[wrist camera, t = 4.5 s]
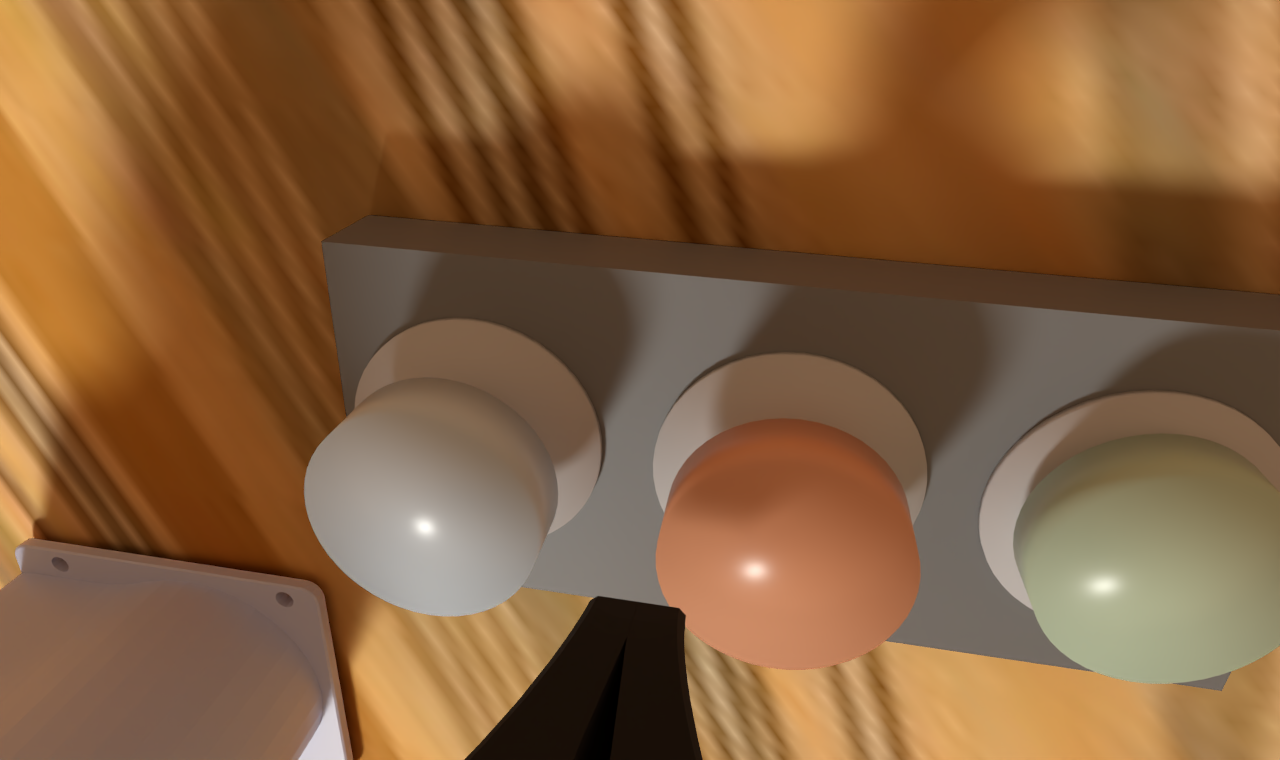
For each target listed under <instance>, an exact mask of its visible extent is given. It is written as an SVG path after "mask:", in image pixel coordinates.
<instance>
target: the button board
mask: <svg viewBox="0 0 1280 760" xmlns="http://www.w3.org/2000/svg"><path fill="white" fill-rule="evenodd" d="M321 242H322V249H323V256H324V263H325V270H326V277H327V284H328V291H329V298H330V305H331V312H332V319H333V326H334V333H335V340H336V347H337V354H338V361H339V368H340V375H341V382H342V390H343V397H344V404H345V411H346V417H347V416H348V415H349V414H350V413H351V412H352V411H353V410H354V409H355V408H356V407H357V406H358V405H359V404H360V403H361V402H362V401H363V400H364V399H366V398H367V397H368V396H370V395H371V394H372V393H373V392H375V391H377V390H378V389H380V388H382V387H384V386H386V385H389V384H391V383H394V382H397V381H401V380H405V379H410V378H422V377H431V378H443V379H449V380H455V381H458V382H462V383H465V384H468V385H471V386H474V387H476V388H478V389H481V390H483V391H485V392H487V393H489V394H491V395H493V396H494V397H496V398H498V399H500V400H501V401H502V402H504V403H505V404H507V405H508V406H509V407H511V408H512V409H513V410H514V411H516V412H517V413H518V414H519V415H520V416H521V417H522V418H523V419H524V420H525V421H526V422H527V423H528V424H529V425H530V426H531V427H532V429H533V430H534V431H535V432H536V434H537V435H538V437H539V438H540V439H541V441H542V442H543V444H544V446H545V448H546V450H547V452H548V453H549V456H550V458H551V461H552V463H553V466H554V469H555V473H556V478H557V484H558V504H557V510H556V514H555V518H554V520H553V522H552V525H551V527H550V530H549V532H548V534H547V536H546V539H545V541H544V543H543V545H542V548H541V550H540V552H539V554H538V557H537V559H536V561H535V563H534V566H533V568H532V570H531V572H530V575H529V576H528V578H527V579H526V581H525V582H524V584H523V585H522V586H521V587H526V588H532V589H539V590H546V591H553V592H559V593H566V594H573V595H580V596H586V597H593V598H595V597H597V596H603V597H610V598H616V599H623V600H630V601H636V602H643V603H649V604H656V605H663V606H669V605H668V603H667V601H666V599H665V597H664V595H663V593H662V590H661V587H660V584H659V581H658V576H657V571H656V548H657V541H658V537H659V533H660V529H661V525H662V521H663V517H664V513H665V508H666V504H667V500H668V496H669V493H670V489H671V486H672V483H673V481H674V479H675V477H676V475H677V473H678V471H679V469H680V468H681V467H682V465H683V464H684V462H685V461H686V460H687V459H688V457H689V456H690V455H691V454H692V453H693V452H694V451H695V450H696V449H697V448H699V447H700V446H701V445H702V444H704V443H705V442H706V441H708V440H709V439H711V438H713V437H714V436H716V435H718V434H719V433H721V432H723V431H726V430H728V429H730V428H733V427H735V426H738V425H742V424H745V423H749V422H753V421H759V420H765V419H779V418H787V419H802V420H808V421H813V422H818V423H822V424H825V425H829V426H832V427H835V428H837V429H839V430H842V431H844V432H846V433H849V434H851V435H852V436H854V437H856V438H857V439H859V440H861V441H863V442H864V443H865V444H867V445H868V446H869V447H871V448H872V449H873V450H875V451H876V452H877V453H878V454H879V455H880V456H881V457H882V458H883V459H884V460H885V461H886V462H887V463H888V465H889V466H890V467H891V469H892V470H893V471H894V473H895V474H896V476H897V478H898V479H899V481H900V483H901V485H902V487H903V490H904V492H905V495H906V498H907V501H908V506H909V511H910V515H911V520H912V525H913V530H914V534H915V539H916V544H917V548H918V553H919V559H920V574H921V578H920V584H919V590H918V594H917V597H916V600H915V603H914V605H913V607H912V609H911V611H910V613H909V614H908V616H907V618H906V619H905V620H904V622H903V623H902V624H901V626H900V627H899V628H898V629H897V630H896V631H895V632H894V633H893V634H892V635H891V636H890V637H889V638H888V639H887V640H885V641H889V642H896V643H903V644H910V645H916V646H923V647H930V648H937V649H943V650H950V651H957V652H964V653H970V654H977V655H984V656H991V657H997V658H1004V659H1011V660H1018V661H1024V662H1031V663H1038V664H1044V665H1051V666H1058V667H1065V668H1071V669H1078V670H1085V671H1092V670H1090V669H1087V668H1085V667H1083V666H1081V665H1080V664H1078V663H1076V662H1074V661H1073V660H1071V659H1070V658H1068V657H1067V656H1066V655H1064V654H1063V653H1062V652H1060V651H1059V650H1058V649H1057V648H1056V647H1055V646H1054V645H1053V644H1052V643H1051V642H1050V640H1049V639H1048V637H1047V636H1046V635H1045V633H1044V632H1043V630H1042V629H1041V627H1040V625H1039V623H1038V621H1037V618H1036V616H1035V613H1034V610H1033V608H1032V605H1031V602H1030V600H1029V597H1028V594H1027V592H1026V589H1025V586H1024V584H1023V581H1022V578H1021V576H1020V573H1019V570H1018V567H1017V564H1016V561H1015V558H1014V550H1013V535H1014V529H1015V525H1016V521H1017V518H1018V516H1019V513H1020V510H1021V508H1022V506H1023V505H1024V503H1025V501H1026V500H1027V498H1028V496H1029V495H1030V494H1031V492H1032V491H1033V490H1034V489H1035V487H1036V486H1037V485H1038V484H1039V483H1040V482H1041V481H1042V480H1043V479H1044V478H1045V477H1046V476H1047V475H1048V474H1049V473H1050V472H1052V471H1053V470H1054V469H1055V468H1057V467H1058V466H1059V465H1061V464H1062V463H1064V462H1065V461H1067V460H1069V459H1070V458H1072V457H1073V456H1075V455H1077V454H1079V453H1081V452H1083V451H1085V450H1087V449H1089V448H1092V447H1094V446H1097V445H1100V444H1103V443H1106V442H1108V441H1112V440H1116V439H1120V438H1124V437H1129V436H1136V435H1143V434H1161V433H1165V434H1182V435H1188V436H1194V437H1199V438H1203V439H1206V440H1210V441H1213V442H1216V443H1219V444H1221V445H1223V446H1226V447H1228V448H1230V449H1232V450H1234V451H1235V452H1237V453H1239V454H1240V455H1242V456H1244V457H1245V458H1246V459H1247V460H1249V461H1250V462H1251V463H1252V464H1253V465H1255V466H1256V467H1257V468H1258V469H1259V471H1260V472H1261V473H1262V474H1263V475H1264V476H1265V477H1266V478H1267V479H1268V480H1269V481H1270V482H1271V483H1272V484H1273V485H1274V487H1275V488H1276V489H1277V490H1278V491H1279V492H1280V295H1276V294H1265V293H1254V292H1242V291H1231V290H1219V289H1208V288H1196V287H1185V286H1174V285H1162V284H1151V283H1139V282H1128V281H1116V280H1105V279H1094V278H1082V277H1071V276H1059V275H1048V274H1037V273H1025V272H1014V271H1002V270H991V269H979V268H968V267H957V266H945V265H934V264H922V263H911V262H899V261H888V260H877V259H865V258H854V257H842V256H831V255H819V254H808V253H797V252H785V251H774V250H762V249H751V248H739V247H728V246H717V245H705V244H694V243H682V242H671V241H660V240H648V239H637V238H625V237H614V236H602V235H591V234H580V233H568V232H557V231H545V230H534V229H522V228H511V227H500V226H488V225H477V224H465V223H454V222H442V221H431V220H420V219H408V218H397V217H385V216H374V215H368V216H366V217H364V218H362V219H361V220H359V221H357V222H355V223H354V224H352V225H350V226H348V227H346V228H345V229H343V230H341V231H339V232H337V233H336V234H334V235H332V236H330V237H329V238H327V239H325V240H323V241H321ZM669 607H670V606H669ZM1092 672H1094V671H1092ZM1230 673H1231V672H1228V673H1225V674H1222V675H1219V676H1215V677H1211V678H1207V679H1203V680H1196V681H1190V682H1183V683H1173V684H1179V685H1186V686H1193V687H1199V688H1206V689H1213V690H1220V691H1222V689H1223V687H1224V685H1225V683H1226V681H1227V679H1228V677H1229V675H1230Z"/></svg>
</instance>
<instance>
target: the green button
mask: <svg viewBox="0 0 1280 760" xmlns="http://www.w3.org/2000/svg"><path fill="white" fill-rule="evenodd" d="M1013 550H1014V558H1015V561H1016V564H1017V567H1018V570H1019V573H1020V576H1021V578H1022V581H1023V584H1024V586H1025V589H1026V592H1027V594H1028V597H1029V600H1030V602H1031V605H1032V608H1033V610H1034V613H1035V616H1036V618H1037V621H1038V623H1039V625H1040V627H1041V629H1042V630H1043V632H1044V633H1045V635H1046V636H1047V637H1048V639H1049V640H1050V642H1051V643H1052V644H1053V645H1054V646H1055V647H1056V648H1057V649H1058V650H1059V651H1060V652H1062V653H1063V654H1064V655H1066V656H1067V657H1068V658H1070V659H1071V660H1073V661H1074V662H1076V663H1078V664H1080V665H1081V666H1083V667H1085V668H1087V669H1090V670H1092V671H1094V672H1097V673H1099V674H1102V675H1106V676H1109V677H1112V678H1116V679H1121V680H1126V681H1131V682H1140V683H1153V684H1169V683H1183V682H1190V681H1196V680H1203V679H1207V678H1211V677H1215V676H1219V675H1222V674H1225V673H1228V672H1231V671H1234V670H1236V669H1239V668H1241V667H1243V666H1246V665H1248V664H1250V663H1252V662H1254V661H1256V660H1258V659H1260V658H1261V657H1263V656H1265V655H1267V654H1268V653H1270V652H1271V651H1273V650H1274V649H1275V648H1277V647H1278V646H1280V492H1279V491H1278V490H1277V489H1276V488H1275V487H1274V485H1273V484H1272V483H1271V482H1270V481H1269V480H1268V479H1267V478H1266V477H1265V476H1264V475H1263V474H1262V473H1261V472H1260V471H1259V469H1258V468H1257V467H1256V466H1255V465H1253V464H1252V463H1251V462H1250V461H1249V460H1247V459H1246V458H1245V457H1244V456H1242V455H1240V454H1239V453H1237V452H1235V451H1234V450H1232V449H1230V448H1228V447H1226V446H1223V445H1221V444H1219V443H1216V442H1213V441H1210V440H1206V439H1203V438H1199V437H1194V436H1188V435H1182V434H1165V433H1161V434H1143V435H1136V436H1129V437H1124V438H1120V439H1116V440H1112V441H1108V442H1106V443H1103V444H1100V445H1097V446H1094V447H1092V448H1089V449H1087V450H1085V451H1083V452H1081V453H1079V454H1077V455H1075V456H1073V457H1072V458H1070V459H1069V460H1067V461H1065V462H1064V463H1062V464H1061V465H1059V466H1058V467H1057V468H1055V469H1054V470H1053V471H1052V472H1050V473H1049V474H1048V475H1047V476H1046V477H1045V478H1044V479H1043V480H1042V481H1041V482H1040V483H1039V484H1038V485H1037V486H1036V487H1035V489H1034V490H1033V491H1032V492H1031V494H1030V495H1029V496H1028V498H1027V500H1026V501H1025V503H1024V505H1023V506H1022V508H1021V510H1020V513H1019V516H1018V518H1017V521H1016V525H1015V529H1014V535H1013Z"/></svg>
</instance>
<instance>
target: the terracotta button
mask: <svg viewBox="0 0 1280 760" xmlns="http://www.w3.org/2000/svg"><path fill="white" fill-rule="evenodd" d="M656 571H657V576H658V581H659V584H660V587H661V590H662V593H663V595H664V597H665V599H666V601H667V603H668V605H669V606H670V607H676V608H680V609H681V611H682V612H683V613H684V614H685V615H686V620H685V627H686V628H687V629H689V630H690V631H691V632H692V633H693V634H694V635H695V636H697V637H698V638H699V639H701V640H702V641H704V642H705V643H706V644H708V645H709V646H711V647H713V648H715V649H716V650H718V651H720V652H722V653H724V654H726V655H728V656H731V657H733V658H736V659H738V660H741V661H744V662H747V663H751V664H754V665H759V666H763V667H768V668H776V669H786V670H805V669H816V668H823V667H828V666H833V665H837V664H840V663H843V662H847V661H850V660H852V659H855V658H857V657H859V656H862V655H864V654H866V653H867V652H869V651H871V650H873V649H874V648H876V647H877V646H879V645H880V644H881V643H883V642H884V641H885V640H887V639H888V638H889V637H890V636H891V635H892V634H893V633H894V632H895V631H896V630H897V629H898V628H899V627H900V626H901V624H902V623H903V622H904V620H905V619H906V618H907V616H908V614H909V613H910V611H911V609H912V607H913V605H914V603H915V600H916V597H917V594H918V590H919V584H920V578H921V574H920V559H919V553H918V548H917V544H916V539H915V534H914V530H913V525H912V520H911V515H910V511H909V506H908V501H907V498H906V495H905V492H904V490H903V487H902V485H901V483H900V481H899V479H898V478H897V476H896V474H895V473H894V471H893V470H892V469H891V467H890V466H889V465H888V463H887V462H886V461H885V460H884V459H883V458H882V457H881V456H880V455H879V454H878V453H877V452H876V451H875V450H873V449H872V448H871V447H869V446H868V445H867V444H865V443H864V442H863V441H861V440H859V439H857V438H856V437H854V436H852V435H851V434H849V433H846V432H844V431H842V430H839V429H837V428H835V427H832V426H829V425H825V424H822V423H818V422H813V421H808V420H802V419H787V418H779V419H765V420H759V421H753V422H749V423H745V424H742V425H738V426H735V427H733V428H730V429H728V430H726V431H723V432H721V433H719V434H718V435H716V436H714V437H713V438H711V439H709V440H708V441H706V442H705V443H704V444H702V445H701V446H700V447H699V448H697V449H696V450H695V451H694V452H693V453H692V454H691V455H690V456H689V457H688V459H687V460H686V461H685V462H684V464H683V465H682V467H681V468H680V469H679V471H678V473H677V475H676V477H675V479H674V481H673V483H672V486H671V489H670V493H669V496H668V500H667V504H666V508H665V513H664V517H663V521H662V525H661V529H660V533H659V537H658V541H657V548H656Z"/></svg>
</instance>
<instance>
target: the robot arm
mask: <svg viewBox="0 0 1280 760" xmlns="http://www.w3.org/2000/svg"><path fill="white" fill-rule="evenodd" d="M15 555H16V559H17V562H18V564H19V567H20V569H21V572H22V573H21V574H20V575H19V576H17V577H16V578H15V579H14V580H12V581H11V582H10V583H8V584H7V585H6V586H4V587H3V588H2V589H1V590H0V760H353V755H352V749H351V744H350V738H349V732H348V727H347V721H346V715H345V710H344V704H343V698H342V693H341V687H340V681H339V676H338V670H337V664H336V659H335V653H334V647H333V642H332V636H331V630H330V625H329V619H328V613H327V608H326V602H325V596H324V594H323V591H322V590H321V589H320V587H319V586H318V585H316V584H315V583H313V582H311V581H308V580H303V579H296V578H290V577H283V576H277V575H270V574H263V573H257V572H250V571H244V570H237V569H231V568H224V567H218V566H211V565H205V564H198V563H192V562H185V561H178V560H172V559H165V558H159V557H152V556H146V555H139V554H133V553H126V552H120V551H113V550H106V549H100V548H93V547H87V546H80V545H74V544H67V543H61V542H54V541H48V540H41V539H28V540H26V541H24V542H23V543H22V544H20V545H19V546H18V547H16V550H15ZM286 593H287V594H286ZM289 595H290V596H289ZM685 620H686V615H685V614H684V613H683V612H682V611H681V609H680V608H676V607H669V606H663V605H656V604H649V603H643V602H636V601H630V600H623V599H616V598H610V597H603V596H597V597H595V598H594V599H592V600H591V601H590V602H589V604H588V606H587V607H586V609H585V611H584V612H583V614H582V616H581V617H580V619H579V620H578V622H577V623H576V625H575V626H574V628H573V629H572V631H571V632H570V634H569V635H568V637H567V638H566V640H565V641H564V642H563V644H562V645H561V647H560V648H559V649H558V651H557V652H556V653H555V655H554V656H553V657H552V659H551V660H550V662H549V663H548V664H547V665H546V667H545V668H544V669H543V670H542V672H541V673H540V674H539V675H538V677H537V678H536V679H535V680H534V682H533V683H532V684H531V685H530V687H529V688H528V689H527V690H526V692H525V693H524V694H523V695H522V697H521V698H520V699H519V700H518V701H517V703H516V704H515V705H514V706H513V707H512V708H511V710H510V711H509V712H508V713H507V714H506V715H505V716H504V717H503V718H502V720H501V721H500V722H499V723H498V724H497V725H496V726H495V727H494V728H493V730H492V731H491V732H490V733H489V734H488V735H487V736H486V737H485V739H484V740H483V741H482V742H481V743H480V744H479V745H478V746H477V747H476V748H475V749H474V750H473V751H472V752H471V753H470V754H469V755H468V756H467V758H466V759H465V760H702V755H701V751H700V747H699V742H698V738H697V733H696V728H695V723H694V718H693V712H692V707H691V702H690V696H689V689H688V683H687V674H686V665H685V652H684V631H685Z"/></svg>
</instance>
